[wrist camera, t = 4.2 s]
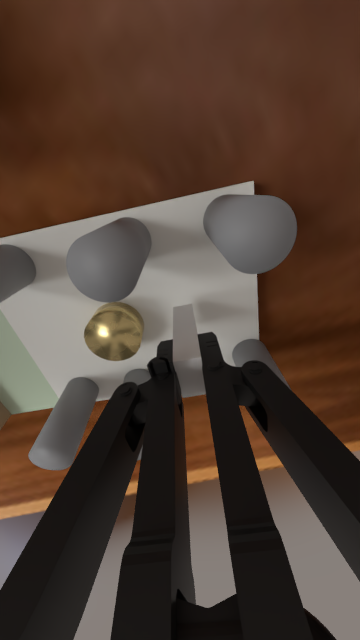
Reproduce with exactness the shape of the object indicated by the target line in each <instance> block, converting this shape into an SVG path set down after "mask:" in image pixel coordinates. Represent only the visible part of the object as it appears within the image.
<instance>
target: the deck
mask: <svg viewBox="0 0 360 640" xmlns="http://www.w3.org/2000/svg"><path fill="white" fill-rule="evenodd" d="M296 234H297V222H296V218H295V214H294V212H293V210H292V209H291V207H290V206H289V205H288V204H287V203H286V202H285V201H283V200H282V199H280V198H278V197H274V196H269V195H254V181H250V182H245V183H241V184H236V185H232V186H228V187H223V188H219V189H214V190H210V191H205V192H201V193H197V194H192V195H188V196H183V197H179V198H175V199H170V200H166V201H161V202H157V203H153V204H148V205H144V206H139V207H135V208H131V209H126V210H122V211H117V212H113V213H109V214H104V215H100V216H95V217H91V218H87V219H82V220H78V221H73V222H69V223H65V224H60V225H56V226H51V227H47V228H42V229H38V230H34V231H29V232H25V233H20V234H16V235H12V236H7V237H3V238H0V430H1V428H2V427H3V425H4V424H5V423H6V421H7V420H8V419H9V417H10V416H11V415H12V414H17V413H23V412H29V411H35V410H42V409H48V408H54V409H53V411H52V412H51V414H50V416H49V418H48V420H47V421H46V423H45V425H44V427H43V429H42V430H41V432H40V434H39V436H38V438H37V439H36V441H35V443H34V445H33V447H32V448H31V450H30V452H29V459H30V460H31V462H33V463H34V464H35V465H37V466H39V467H41V468H44V469H48V470H62V469H66V468H68V467H70V466H71V465H72V463H73V460H74V458H75V455H76V452H77V450H78V447H79V444H80V442H81V439H82V436H83V434H84V431H85V428H86V426H87V423H88V420H89V418H90V415H91V412H92V410H93V407H94V404H95V402H96V401H101V400H107V399H110V398H111V396H112V395H113V393H114V391H115V390H116V388H117V387H118V386H120V385H121V384H123V383H126V382H134V383H136V384H137V386H138V385H140V384H142V383H145V382H147V381H148V380H149V379H151V376H150V373H149V370H148V368H147V364H148V362H149V361H150V360H151V359H153V358H155V357H157V356H156V355H157V346H158V345H159V343H160V342H161V341H166V340H171V339H173V307H177V306H182V305H187V304H192V306H193V311H194V317H195V322H196V327H197V332H198V334H202V333H207V332H213V333H214V334H215V335H216V336H217V339H218V343H219V346H220V349H221V353H222V356H223V359H224V361H225V362H226V363H227V364H229V365H231V366H235V367H242V365H243V364H244V363H246V362H248V361H252V360H257V361H261V362H263V363H265V364H266V365H267V366H268V367H269V368H270V369H271V370H272V371H273V372H274V373H275V374H276V375H277V376H278V377H279V378H280V379H281V380H282V381H283V382H284V383H285V384H286V385H287V386H288V387H289V385H288V384H287V382H286V380H285V379H284V377H283V375H282V374H281V372H280V370H279V369H278V367H277V365H276V363H275V362H274V360H273V358H272V357H271V355H270V353H269V352H268V350H267V348H266V347H265V345H264V344H263V343H262V342H261V341H259V321H258V291H257V274H260V273H264V272H266V271H269V270H271V269H273V268H274V267H276V266H277V265H279V264H280V263H281V262H282V261H283V260H284V259H285V258H286V257H287V255H288V254H289V252H290V251H291V249H292V247H293V245H294V242H295V239H296ZM111 302H121V303H125V304H128V305H130V306H132V307H133V308H135V309H136V310H137V311H138V312H139V313H140V315H141V317H142V319H143V322H144V331H143V336H142V340H141V345H140V348H139V350H138V352H137V353H136V354H135V355H134V356H132V357H131V358H129V359H126V360H122V361H110V360H106V359H103V358H100V357H98V356H97V355H95V354H94V353H93V352H92V351H91V350H90V349H89V348H88V346H87V345H86V342H85V339H84V330H85V327H86V325H87V324H88V322H89V321H90V319H91V318H92V316H93V315H94V313H95V312H96V310H97V309H98V308H99V307H100V306H102V305H104V304H106V303H111ZM289 389H290V387H289ZM290 390H291V389H290ZM291 391H292V390H291ZM142 447H143V445H142ZM141 455H142V448H141V451H140V454H139V456H138V459H137V460H140V459H141Z"/></svg>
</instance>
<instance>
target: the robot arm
mask: <svg viewBox="0 0 360 640" xmlns="http://www.w3.org/2000/svg"><path fill="white" fill-rule="evenodd" d="M156 356H157V357H155V358H153V359H151V360H150V361H149V362H148V364H147V368H148V370H149V373H150V376H151V379H149V380H148V381H147V382H145V383H142V384H140V385H138V386H137V384H136V383H134V382H126V383H123V384H121V385H120V386H118V387H117V388H116V390H115V391H114V393H113V395H112V396H111V398H110V400H109V401H108V403H107V405H106V407H105V408H104V410H103V412H102V414H101V415H100V417H99V419H98V421H97V422H96V424H95V426H94V428H93V429H92V431H91V433H90V435H89V436H88V438H87V440H86V442H85V443H84V445H83V447H82V449H81V450H80V452H79V454H78V456H77V457H76V459H75V461H74V462H73V464H72V466H71V468H70V469H69V471H68V473H67V475H66V476H65V478H64V480H63V482H62V483H61V485H60V487H59V489H58V490H57V492H56V494H55V496H54V497H53V499H52V501H51V503H50V504H49V506H48V508H47V510H46V511H45V513H44V515H43V517H42V518H41V520H40V522H39V524H38V525H37V527H36V529H35V531H34V532H33V534H32V536H31V538H30V539H29V541H28V543H27V545H26V546H25V548H24V550H23V551H22V553H21V555H20V557H19V558H18V560H17V562H16V564H15V565H14V567H13V569H12V571H11V572H10V574H9V576H8V578H7V579H6V581H5V583H4V585H3V587H2V588H1V590H0V640H73V639H74V636H75V633H76V631H77V628H78V626H79V623H80V620H81V618H82V615H83V612H84V610H85V607H86V603H87V601H88V598H89V595H90V593H91V590H92V586H93V584H94V581H95V578H96V576H97V573H98V569H99V567H100V564H101V561H102V558H103V556H104V553H105V550H106V547H107V544H108V541H109V539H110V536H111V533H112V530H113V527H114V524H115V522H116V518H117V516H118V513H119V510H120V507H121V504H122V502H123V499H124V496H125V493H126V490H127V488H128V485H129V482H130V479H131V476H132V473H133V471H134V468H135V465H136V462H137V459H138V456H139V454H140V451H141V448H142V455H141V463H140V472H139V480H138V488H137V497H136V505H135V513H134V522H133V530H132V537H131V540H130V543H129V544H128V545H127V547H126V548H125V551H124V554H123V557H122V563H121V569H120V575H119V583H118V590H117V597H116V605H115V611H114V618H113V626H112V632H111V640H336V639H335V637H334V636H333V635H332V634H331V633H330V632H329V630H328V629H327V628H326V627H325V626H324V625H323V624H322V623H321V622H320V621H319V620H318V619H317V618H316V617H314V616H313V615H312V614H311V613H310V612H308V611H307V610H306V609H304V608H303V605H302V602H301V599H300V596H299V593H298V589H297V586H296V583H295V580H294V576H293V573H292V570H291V567H290V564H289V561H288V557H287V554H286V551H285V547H284V544H283V542H282V539H281V536H280V534H279V531H278V529H277V528H276V526H275V523H274V521H273V518H272V514H271V511H270V508H269V505H268V501H267V498H266V494H265V491H264V488H263V484H262V481H261V478H260V475H259V471H258V468H257V465H256V461H255V458H254V455H253V451H252V448H251V445H250V441H249V438H248V435H247V431H246V428H245V425H244V422H243V418H242V415H241V412H240V408H239V405H242V406H245V407H246V409H247V411H248V412H249V414H250V415H251V417H252V418H253V420H254V421H255V423H256V424H257V426H258V427H259V429H260V430H261V432H262V434H263V435H264V437H265V438H266V440H267V441H268V443H269V444H270V446H271V447H272V449H273V450H274V452H275V453H276V455H277V456H278V458H279V459H280V461H281V462H282V464H283V465H284V467H285V468H286V470H287V472H288V473H289V475H290V476H291V478H292V479H293V480H294V482H295V484H296V485H297V487H298V488H299V490H300V491H301V493H302V494H303V496H304V497H305V499H306V500H307V502H308V503H309V505H310V506H311V508H312V510H313V511H314V512H315V514H316V515H317V517H318V518H319V520H320V522H321V523H322V525H323V526H324V527H325V529H326V531H327V532H328V534H329V535H330V537H331V538H332V540H333V541H334V543H335V544H336V546H337V548H338V549H339V550H340V552H341V554H342V555H343V557H344V558H345V560H346V561H347V563H348V564H349V566H350V567H351V569H352V570H353V572H354V573H355V575H356V576H357V578H358V580H359V581H360V461H359V460H358V459H357V458H356V457H355V456H354V455H353V454H352V453H351V451H350V450H349V449H348V448H347V447H346V446H345V445H344V444H343V443H342V442H341V441H340V440H339V439H338V438H337V437H336V436H335V435H334V434H333V433H332V432H331V431H330V430H329V429H328V428H327V427H326V426H325V425H324V424H323V423H322V422H321V421H320V419H319V418H318V417H317V416H316V415H315V414H314V413H313V412H312V411H311V410H310V409H309V408H308V407H307V406H306V405H305V404H304V403H303V402H302V401H301V400H300V399H299V398H298V397H297V396H296V395H295V394H294V393H293V392H292V391H291V390H290V389H289V387H288V386H287V385H286V384H285V383H284V382H283V381H282V380H281V379H280V378H279V377H278V376H277V375H276V374H275V373H274V372H273V371H272V370H271V369H270V368H269V367H268V366H267V365H266V364H265V363H263V362H261V361H257V360H252V361H248V362H246V363H244V364H243V365H242V367H235V366H231V365H229V364H227V363H226V362H225V361H224V359H223V356H222V353H221V349H220V346H219V343H218V339H217V336H216V335H215V334H214V333H213V332H207V333H202V334H198V332H197V327H196V322H195V317H194V311H193V306H192V304H187V305H182V306H177V307H173V339H171V340H166V341H161V342H160V343H159V345H158V346H157V355H156ZM181 394H182V396H181ZM203 394H206V397H207V404H208V410H209V416H210V423H211V429H212V436H213V442H214V448H215V455H216V461H217V467H218V474H219V480H220V487H221V492H222V499H223V505H224V512H225V518H226V525H227V532H228V541H229V548H230V555H231V561H232V568H233V574H234V580H235V587H236V593H237V594H235V595H233V596H231V597H229V598H227V599H226V600H224V601H222V602H220V603H218V604H216V605H215V606H213V607H210V608H204V607H202V606H199V605H196V600H195V588H194V579H193V573H192V567H191V552H190V531H189V511H188V491H187V470H186V449H185V429H184V409H183V402H182V397H183V398H184V397H191V396H197V395H203ZM142 445H143V447H142Z"/></svg>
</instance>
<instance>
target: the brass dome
mask: <svg viewBox="0 0 360 640" xmlns="http://www.w3.org/2000/svg"><path fill="white" fill-rule="evenodd" d="M143 331H144V322H143V319H142V317H141V315H140V313H139V312H138V311H137V310H136V309H135V308H133V307H132V306H130V305H128V304H125V303H121V302H111V303H106V304H104V305H102V306H100V307H99V308H98V309H97V310H96V312H95V313H94V315H93V316H92V318H91V319H90V321H89V322H88V324H87V325H86V327H85V330H84V339H85V342H86V345H87V346H88V348H89V349H90V350H91V351H92V352H93V353H94V354H95V355H97V356H98V357H100V358H103V359H106V360H110V361H122V360H126V359H129V358H131V357H132V356H134V355H135V354H136V353H137V352H138V350H139V348H140V345H141V340H142V336H143Z"/></svg>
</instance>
